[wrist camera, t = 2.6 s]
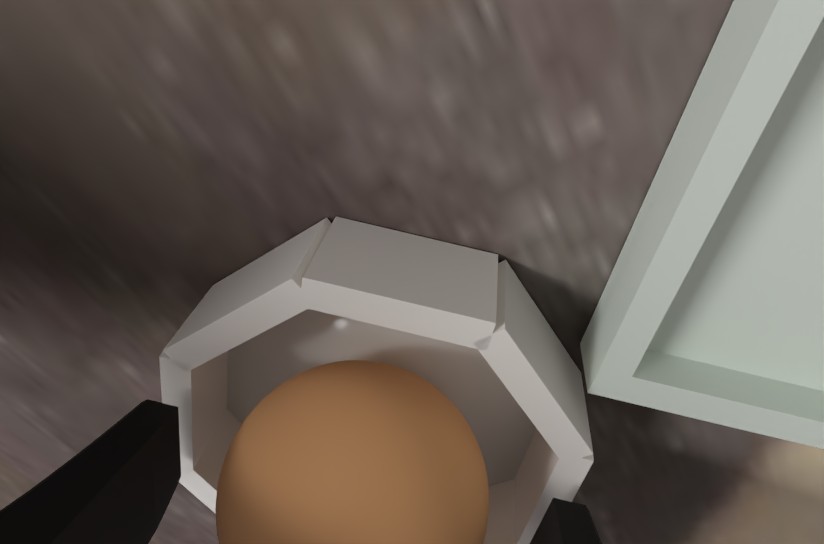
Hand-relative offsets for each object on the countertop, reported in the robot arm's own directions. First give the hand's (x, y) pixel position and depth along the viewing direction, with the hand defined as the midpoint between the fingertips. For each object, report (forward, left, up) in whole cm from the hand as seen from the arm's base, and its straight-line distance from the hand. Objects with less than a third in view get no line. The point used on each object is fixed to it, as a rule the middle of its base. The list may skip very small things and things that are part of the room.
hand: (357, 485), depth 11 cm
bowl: (0, 0, -3) cm, 3 cm away
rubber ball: (0, 0, -2) cm, 2 cm away
